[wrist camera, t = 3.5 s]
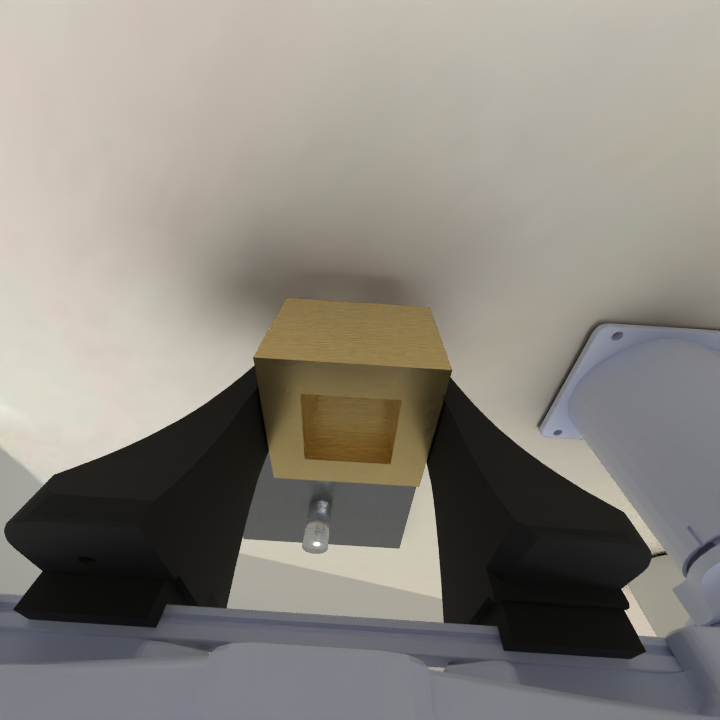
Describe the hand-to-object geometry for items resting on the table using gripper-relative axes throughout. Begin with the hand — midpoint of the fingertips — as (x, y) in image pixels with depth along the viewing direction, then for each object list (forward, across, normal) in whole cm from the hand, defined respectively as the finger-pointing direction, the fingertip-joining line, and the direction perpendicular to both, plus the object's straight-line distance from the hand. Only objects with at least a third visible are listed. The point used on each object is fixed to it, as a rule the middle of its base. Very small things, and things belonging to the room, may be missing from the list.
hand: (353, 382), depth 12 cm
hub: (+2, 0, 0) cm, 2 cm away
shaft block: (+5, +2, +16) cm, 17 cm away
